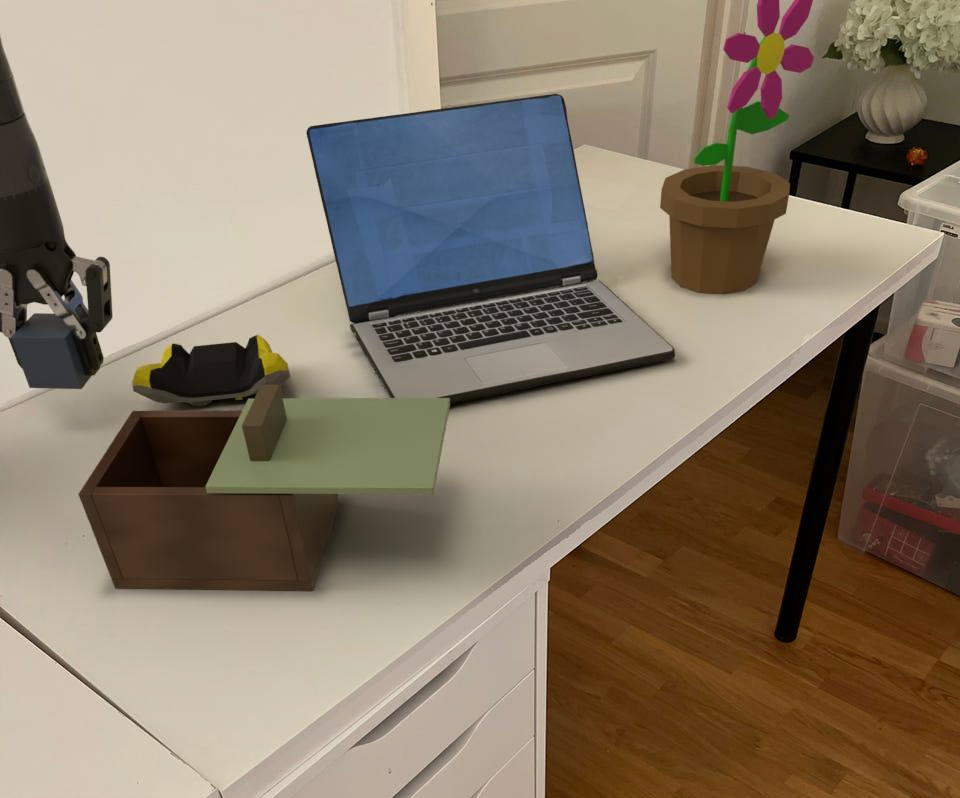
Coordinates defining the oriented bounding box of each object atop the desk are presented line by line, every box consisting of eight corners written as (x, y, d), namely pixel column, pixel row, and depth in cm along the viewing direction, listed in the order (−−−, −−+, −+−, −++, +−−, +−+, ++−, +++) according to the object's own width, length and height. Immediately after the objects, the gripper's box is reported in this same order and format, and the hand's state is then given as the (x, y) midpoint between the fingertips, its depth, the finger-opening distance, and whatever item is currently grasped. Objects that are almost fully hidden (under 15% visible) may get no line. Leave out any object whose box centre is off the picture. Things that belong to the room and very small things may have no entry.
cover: (206, 493, 69) (194, 450, 67) (249, 404, 78) (240, 363, 76) (433, 494, 68) (429, 450, 66) (450, 404, 77) (447, 362, 75)
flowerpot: (707, 312, 108) (746, -5, 88) (629, 270, 117) (648, -26, 97) (802, 281, 113) (860, -26, 93) (720, 243, 122) (757, -44, 102)
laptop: (399, 421, 94) (377, 225, 81) (328, 295, 116) (302, 126, 103) (678, 363, 100) (697, 172, 87) (560, 253, 122) (562, 89, 110)
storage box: (114, 588, 77) (77, 494, 70) (161, 501, 85) (132, 410, 79) (312, 591, 75) (292, 495, 69) (339, 502, 84) (324, 409, 78)
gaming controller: (294, 412, 96) (295, 365, 103) (284, 361, 92) (285, 316, 99) (141, 429, 95) (152, 380, 102) (124, 377, 91) (137, 331, 98)
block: (29, 388, 89) (10, 336, 86) (51, 363, 93) (33, 312, 89) (81, 389, 89) (64, 337, 85) (101, 364, 92) (86, 313, 89)
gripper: (100, 164, 81) (152, 354, 93) (-63, 164, 82) (8, 352, 94) (65, 194, 76) (124, 392, 87) (-109, 194, 77) (-28, 390, 88)
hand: (64, 370), depth 90 cm, fingers closed on block, 5 cm apart
